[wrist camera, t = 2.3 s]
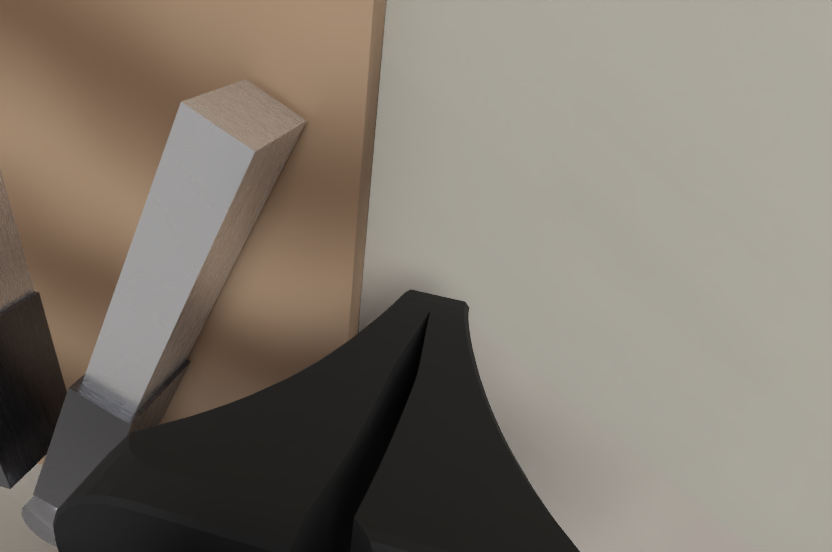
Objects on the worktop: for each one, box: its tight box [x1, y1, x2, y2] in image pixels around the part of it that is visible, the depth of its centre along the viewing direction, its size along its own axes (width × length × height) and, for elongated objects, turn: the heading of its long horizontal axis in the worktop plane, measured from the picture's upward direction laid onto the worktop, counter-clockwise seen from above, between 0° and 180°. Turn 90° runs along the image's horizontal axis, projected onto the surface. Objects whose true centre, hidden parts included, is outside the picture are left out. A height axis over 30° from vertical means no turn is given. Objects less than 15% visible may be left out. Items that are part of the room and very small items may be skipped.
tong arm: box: [22, 79, 306, 547], centre depth 16 cm, size 18×2×3 cm, turn 148°
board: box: [0, 0, 386, 465], centre depth 17 cm, size 19×18×1 cm
